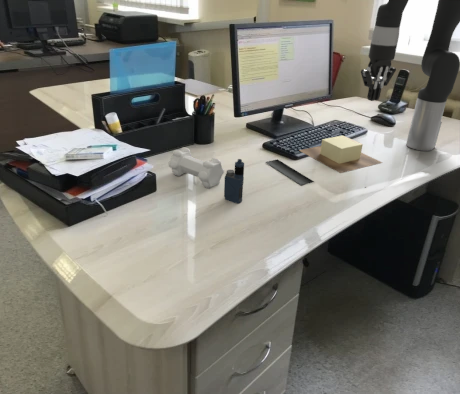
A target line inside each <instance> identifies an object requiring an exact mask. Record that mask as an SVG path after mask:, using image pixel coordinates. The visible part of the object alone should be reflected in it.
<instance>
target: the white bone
mask: <svg viewBox="0 0 460 394" xmlns="http://www.w3.org/2000/svg"><path fill="white" fill-rule="evenodd" d="M168 167H169V168H171V171H172V174H173V175H175V176H176V177H181V176H182V175H183V174H189V175H192V176H194V177H197V178H198V179H199V180H200V181H201V185H202V187H204V188H206V189H211V188H212V187H214V186H218V185H219V184H220V183H221V179H222V177H223V175H224V173H225V169H224V167H222V161H221V160H220V159H219V158H215V157H212V158H211V160H206V161H204V160H202V159H199V158H195V157H193V156H192V153H191V150H190V148H188V147H184V146H183V147H181V148H180V149H175V150H173V151H172V156H171V158H170V159H169V161H168Z"/></svg>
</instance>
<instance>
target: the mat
mask: <svg viewBox="0 0 460 394" xmlns="http://www.w3.org/2000/svg"><path fill="white" fill-rule="evenodd" d="M265 164H267V165H268V166H270V167H272V168H273V169H275V170H276V171H278V172H279V173H281V174H282V175H283V176H285V177H287V178H288V179H290V180H292V181H293V182H295V183H297V184H298V185H300V186H304V185H308V184H312V183H315V181H314V180H312V179H311V178H309V177H307V176H306V175H304V174H303V173H301V172H299V171H297V169H294V168H293V167H291V166H290V165H287V164H286V163H285V162H283V161H281V160H280V159H273V160H269V161H265Z"/></svg>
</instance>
